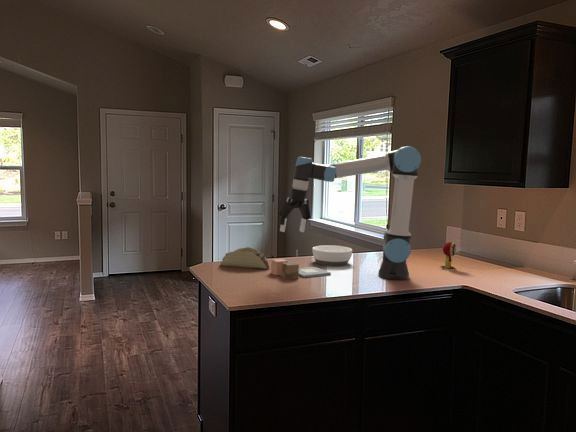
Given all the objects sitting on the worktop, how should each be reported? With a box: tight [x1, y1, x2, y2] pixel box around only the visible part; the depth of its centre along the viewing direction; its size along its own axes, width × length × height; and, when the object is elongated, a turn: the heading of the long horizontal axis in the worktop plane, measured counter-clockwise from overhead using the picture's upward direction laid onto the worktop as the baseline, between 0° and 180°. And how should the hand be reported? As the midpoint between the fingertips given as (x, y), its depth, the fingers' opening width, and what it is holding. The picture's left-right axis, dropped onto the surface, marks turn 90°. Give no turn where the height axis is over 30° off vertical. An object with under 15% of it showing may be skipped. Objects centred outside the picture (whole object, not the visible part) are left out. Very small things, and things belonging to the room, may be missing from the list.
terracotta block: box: [270, 258, 289, 276], centre depth 249 cm, size 6×6×7 cm
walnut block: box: [281, 261, 300, 280], centre depth 241 cm, size 6×6×7 cm
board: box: [298, 266, 332, 279], centre depth 253 cm, size 15×16×1 cm
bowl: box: [312, 244, 353, 267], centre depth 280 cm, size 22×22×8 cm
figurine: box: [438, 241, 457, 272], centre depth 274 cm, size 9×10×15 cm
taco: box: [220, 246, 270, 270], centre depth 262 cm, size 10×27×10 cm, turn 77°
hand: (292, 231), depth 243 cm, fingers open, 13 cm apart
